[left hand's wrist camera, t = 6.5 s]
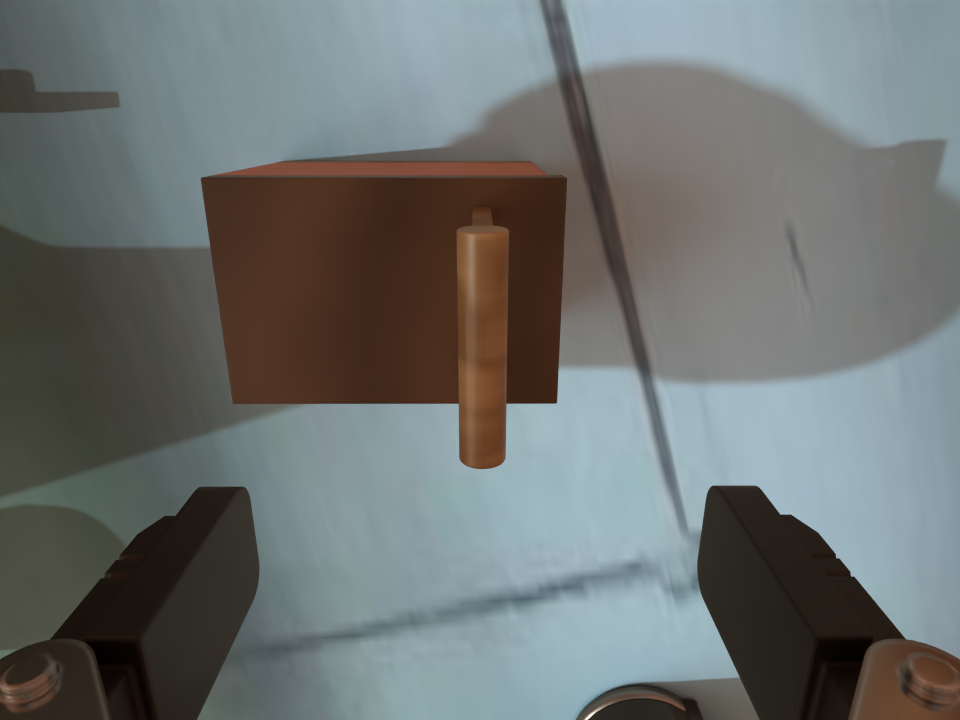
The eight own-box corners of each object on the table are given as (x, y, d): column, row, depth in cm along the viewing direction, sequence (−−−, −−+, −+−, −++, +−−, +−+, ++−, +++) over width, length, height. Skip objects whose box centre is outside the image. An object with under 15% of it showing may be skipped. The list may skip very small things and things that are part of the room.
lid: (563, 175, 26) (601, 198, 18) (553, 392, 29) (582, 495, 21) (212, 174, 26) (92, 198, 18) (242, 392, 29) (152, 495, 21)
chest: (530, 161, 35) (548, 174, 26) (526, 328, 38) (540, 392, 29) (281, 161, 35) (212, 174, 26) (298, 328, 38) (242, 392, 29)
